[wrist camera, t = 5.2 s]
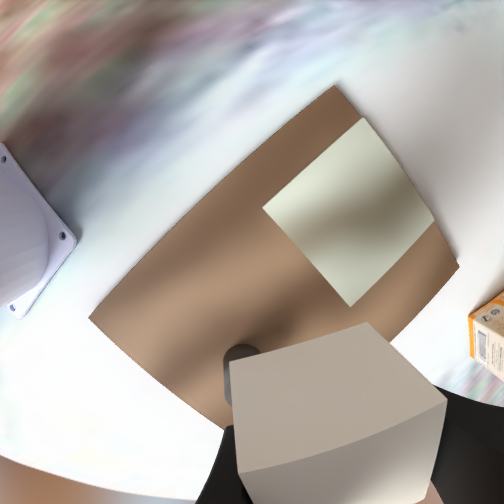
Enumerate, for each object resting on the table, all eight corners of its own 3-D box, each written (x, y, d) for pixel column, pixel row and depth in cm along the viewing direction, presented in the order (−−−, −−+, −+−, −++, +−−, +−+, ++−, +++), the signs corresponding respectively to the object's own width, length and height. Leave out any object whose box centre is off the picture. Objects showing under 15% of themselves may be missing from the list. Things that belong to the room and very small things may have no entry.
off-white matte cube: (261, 453, 11) (279, 549, 7) (228, 361, 10) (238, 473, 5) (372, 418, 12) (424, 498, 7) (366, 321, 11) (447, 399, 6)
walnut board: (92, 312, 18) (64, 342, 14) (329, 88, 17) (357, 65, 13) (253, 442, 21) (259, 483, 17) (453, 264, 20) (491, 279, 16)
